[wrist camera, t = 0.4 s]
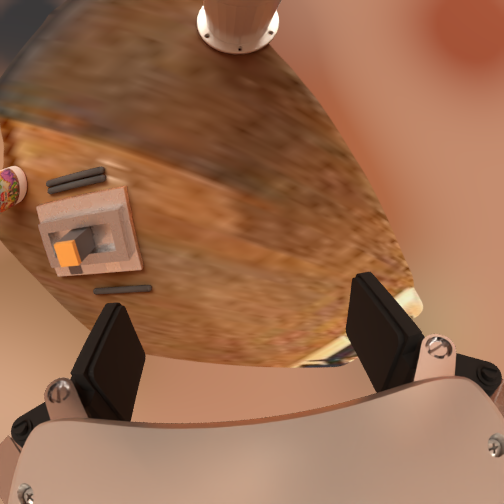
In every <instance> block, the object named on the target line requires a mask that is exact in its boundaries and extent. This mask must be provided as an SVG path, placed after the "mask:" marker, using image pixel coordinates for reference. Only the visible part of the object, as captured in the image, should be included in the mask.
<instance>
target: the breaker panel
mask: <svg viewBox="0 0 504 504" xmlns="http://www.w3.org/2000/svg"><path fill="white" fill-rule="evenodd" d="M36 208H37V212H38V216H39V220H40V224H38V227H39V231H40V234H41V237H42V241H43V244H44V247H45V250H46V253H47V256H48V259H49V262H50V265H51V267H52V268H55V270H56V273H57V276H58V277H59V276H72V275H85V274H97V273H109V272H122V271H134V270H142V268H143V267H144V264H143V260H142V256H141V252H140V248H139V244H138V240H137V235H136V231H135V226H134V221H133V217H132V212H131V207H130V201H129V196H128V190H127V186H121V187H116V188H111V189H105V190H100V191H96V192H91V193H86V194H81V195H77V196H72V197H68V198H64V199H60V200H56V201H52V202H48V203H44V204H40V205H38V206H37V207H36ZM88 226H90V228H91V232H92V236H93V240H94V243H95V248H94V249H93V250H92V251H91V252H90V253H89V255H88V256H87V257H86V258H85V259H84V260H83V261H82V263H81V264H80V265H78V266H68V267H61V266H60V263H59V260H58V257H57V254H56V251H55V248H54V244H55V243H56V242H58V241H59V240H60V239H61V238H62V237H63V236H65V235H66V234H67V233H68V232H69V231H71V230H72V229H76V228H82V227H88Z"/></svg>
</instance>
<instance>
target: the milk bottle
mask: <svg viewBox="0 0 504 504" xmlns="http://www.w3.org/2000/svg"><path fill="white" fill-rule="evenodd" d="M26 191H27V180H26V176H25V174H24V172H23V171H22V169H20V168H19V167H17V166H12V167H8V168H5V169H3V170H0V213H2V212H3V211H5V210H7V209H9V208H10V207H12V206H14V205H16V204H17V203H19V202H21V201H22V200H23V198H24V197H25V194H26Z"/></svg>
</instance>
